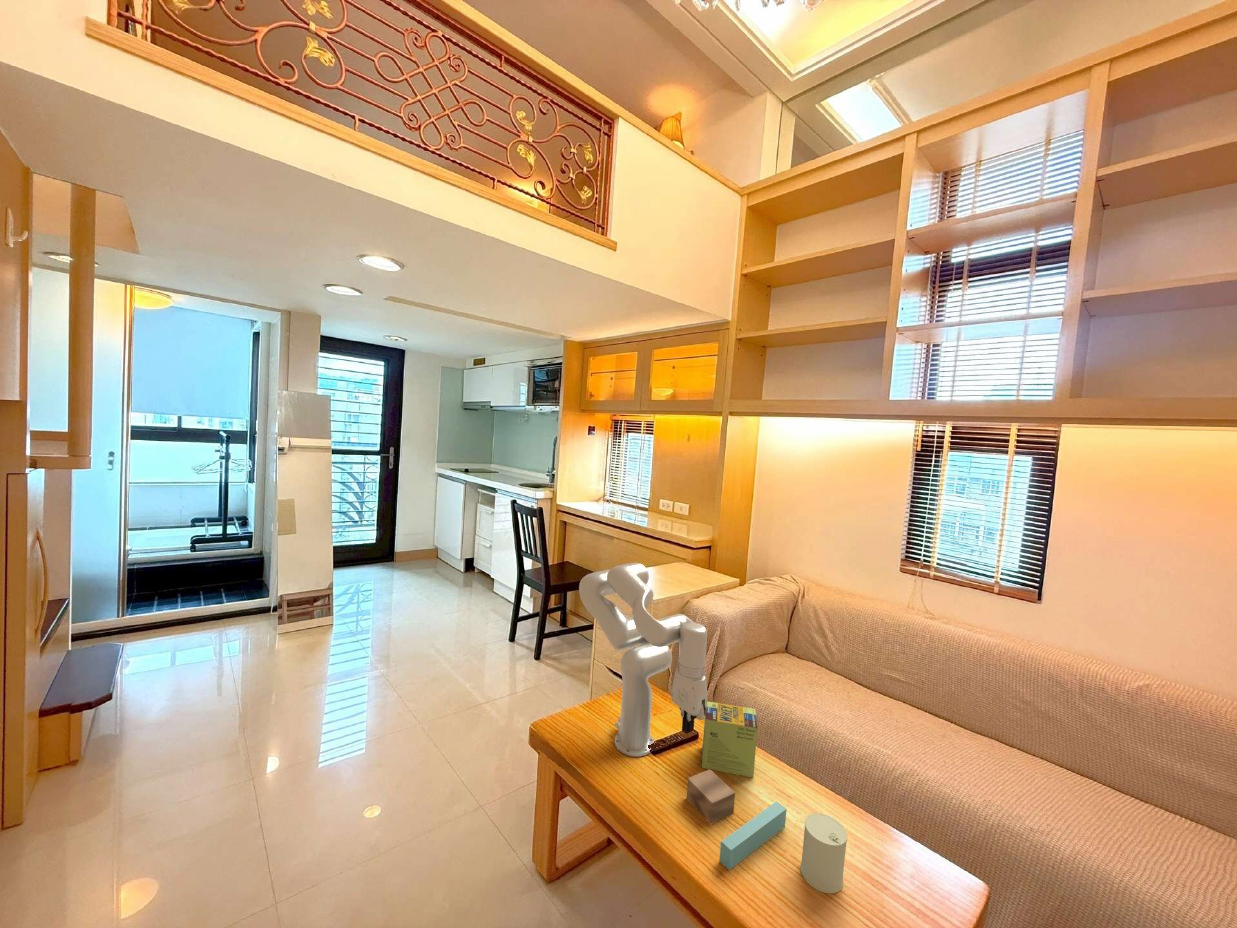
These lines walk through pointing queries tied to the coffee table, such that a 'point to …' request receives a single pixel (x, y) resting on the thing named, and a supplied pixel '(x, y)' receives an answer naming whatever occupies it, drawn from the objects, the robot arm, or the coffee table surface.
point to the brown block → (710, 796)
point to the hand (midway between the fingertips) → (687, 730)
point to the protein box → (729, 739)
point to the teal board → (752, 835)
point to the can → (823, 853)
